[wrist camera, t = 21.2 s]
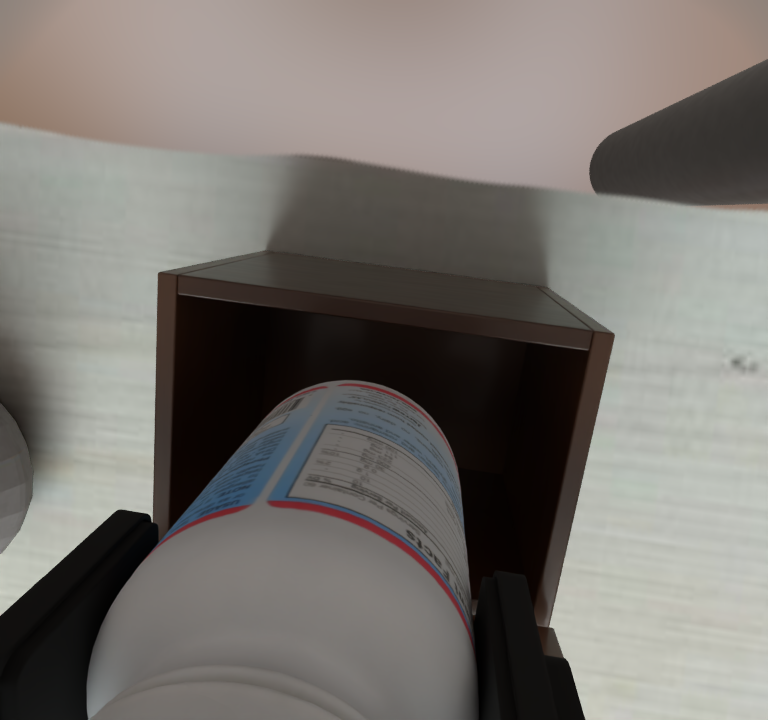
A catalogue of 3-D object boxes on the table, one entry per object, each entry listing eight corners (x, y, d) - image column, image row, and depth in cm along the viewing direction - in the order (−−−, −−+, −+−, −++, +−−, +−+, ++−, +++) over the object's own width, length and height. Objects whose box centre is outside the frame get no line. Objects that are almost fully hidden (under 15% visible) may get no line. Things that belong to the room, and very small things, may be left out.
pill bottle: (281, 582, 18) (25, 1161, 7) (228, 393, 16) (-189, 743, 6) (479, 557, 17) (545, 1175, 6) (441, 356, 16) (438, 684, 5)
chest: (264, 250, 27) (156, 272, 17) (548, 287, 26) (616, 333, 16) (252, 441, 30) (151, 562, 19) (511, 481, 29) (549, 629, 19)
